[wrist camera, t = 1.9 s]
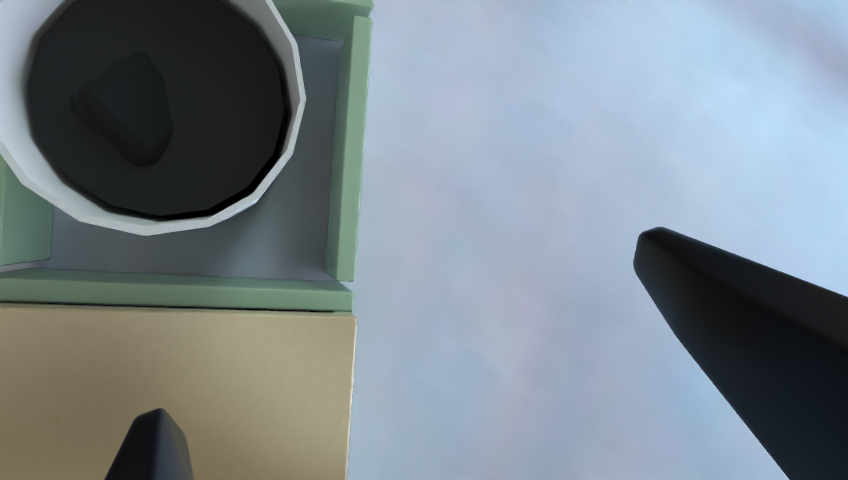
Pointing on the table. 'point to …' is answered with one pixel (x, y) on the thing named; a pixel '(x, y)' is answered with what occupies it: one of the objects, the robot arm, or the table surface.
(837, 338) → the robot arm
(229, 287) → the storage box
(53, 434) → the sliding lid
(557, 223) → the table surface
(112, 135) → the white cup
